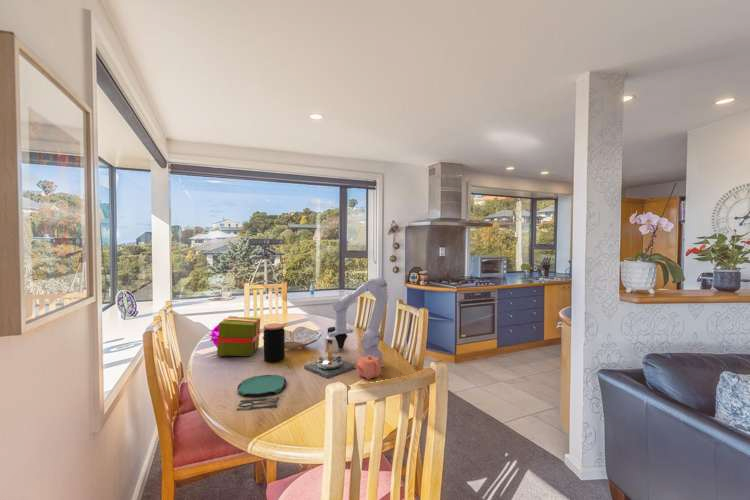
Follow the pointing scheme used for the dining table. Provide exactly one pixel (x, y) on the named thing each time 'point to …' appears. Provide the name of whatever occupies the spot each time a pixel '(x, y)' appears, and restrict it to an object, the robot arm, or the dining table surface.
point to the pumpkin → (369, 367)
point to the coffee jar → (274, 342)
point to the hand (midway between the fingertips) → (340, 348)
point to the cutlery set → (260, 389)
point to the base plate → (329, 372)
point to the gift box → (236, 336)
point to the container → (331, 341)
